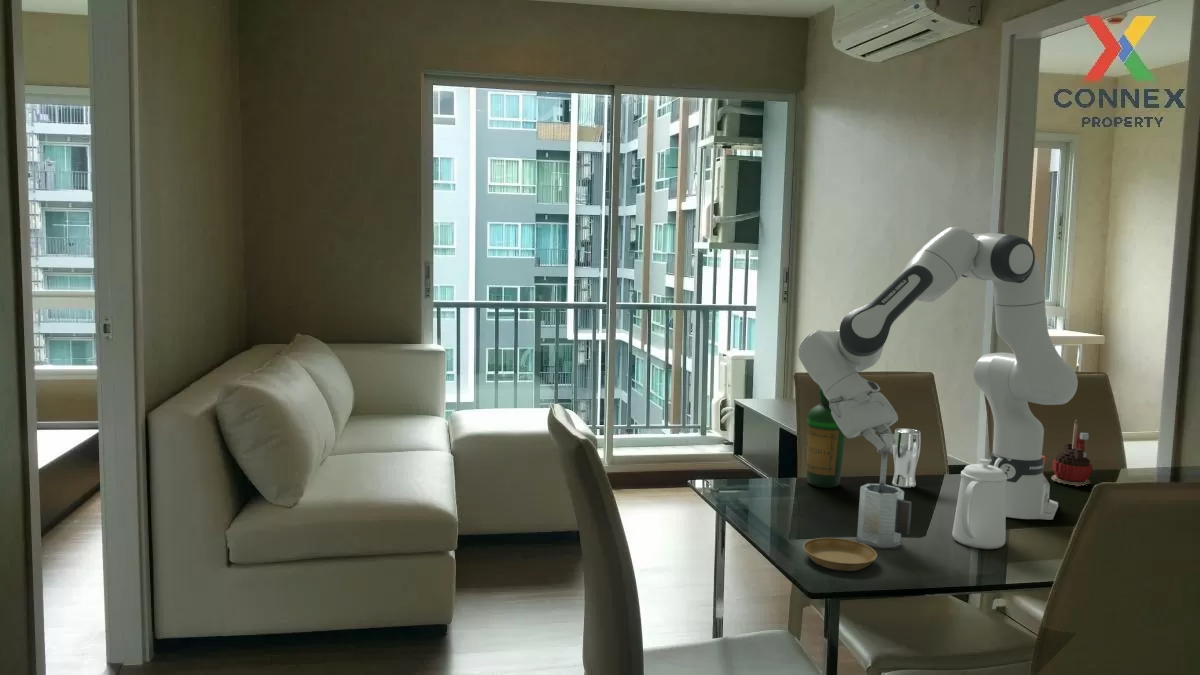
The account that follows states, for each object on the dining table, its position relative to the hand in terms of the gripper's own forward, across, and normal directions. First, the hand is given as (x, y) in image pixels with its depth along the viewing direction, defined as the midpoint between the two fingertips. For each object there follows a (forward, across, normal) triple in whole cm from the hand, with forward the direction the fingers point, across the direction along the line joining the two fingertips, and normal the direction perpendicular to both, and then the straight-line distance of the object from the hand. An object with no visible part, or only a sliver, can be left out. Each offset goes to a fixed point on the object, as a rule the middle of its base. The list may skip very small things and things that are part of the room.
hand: (887, 446), depth 193 cm
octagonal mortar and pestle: (+15, 0, +16) cm, 22 cm away
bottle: (-8, +33, +38) cm, 51 cm away
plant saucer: (+15, -17, +16) cm, 28 cm away
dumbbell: (+10, 0, +11) cm, 14 cm away
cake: (+25, +89, +6) cm, 93 cm away
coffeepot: (+26, +18, +5) cm, 32 cm away
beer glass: (+3, +50, +28) cm, 57 cm away
